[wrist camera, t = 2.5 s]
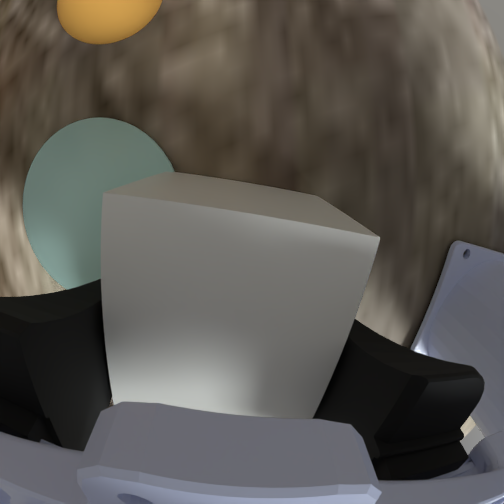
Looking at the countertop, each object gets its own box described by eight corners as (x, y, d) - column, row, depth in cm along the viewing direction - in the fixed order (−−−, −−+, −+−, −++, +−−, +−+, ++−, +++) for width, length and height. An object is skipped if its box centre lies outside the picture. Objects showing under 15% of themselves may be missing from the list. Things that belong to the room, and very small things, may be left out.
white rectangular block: (316, 195, 12) (380, 237, 6) (271, 374, 14) (284, 471, 9) (167, 171, 11) (102, 192, 6) (155, 357, 14) (123, 450, 8)
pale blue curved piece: (198, 124, 10) (197, 124, 10) (175, 314, 13) (174, 317, 13) (31, 118, 10) (28, 118, 10) (30, 282, 12) (28, 283, 12)
